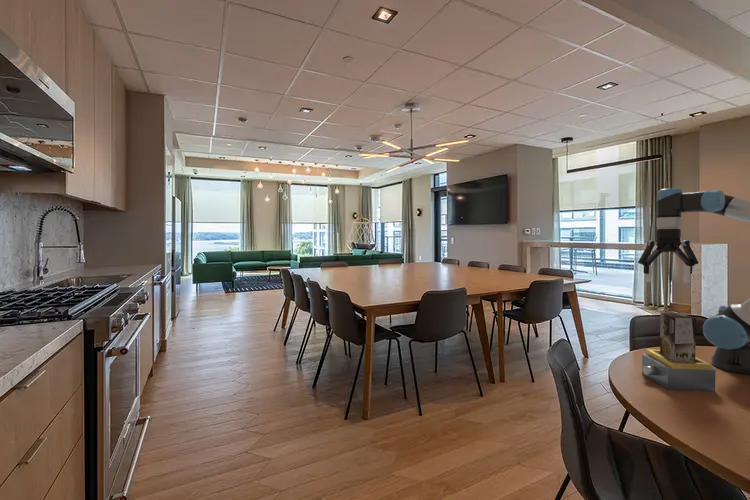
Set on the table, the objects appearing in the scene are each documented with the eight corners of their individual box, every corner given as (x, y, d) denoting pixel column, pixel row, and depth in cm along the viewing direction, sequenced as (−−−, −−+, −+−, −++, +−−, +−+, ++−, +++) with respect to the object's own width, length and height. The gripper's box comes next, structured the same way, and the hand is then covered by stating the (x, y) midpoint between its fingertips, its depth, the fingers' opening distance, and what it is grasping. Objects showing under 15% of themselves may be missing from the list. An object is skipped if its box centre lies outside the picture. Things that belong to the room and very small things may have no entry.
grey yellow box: (684, 374, 133) (684, 350, 132) (715, 391, 118) (715, 364, 118) (633, 372, 135) (633, 349, 135) (657, 389, 121) (657, 362, 120)
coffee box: (696, 366, 121) (697, 318, 120) (674, 365, 122) (675, 317, 122) (679, 357, 130) (680, 312, 129) (658, 356, 131) (659, 311, 131)
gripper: (696, 227, 146) (695, 280, 147) (628, 229, 149) (627, 280, 150) (711, 227, 138) (709, 283, 139) (639, 228, 142) (638, 283, 143)
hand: (667, 282), depth 145 cm, fingers open, 13 cm apart
